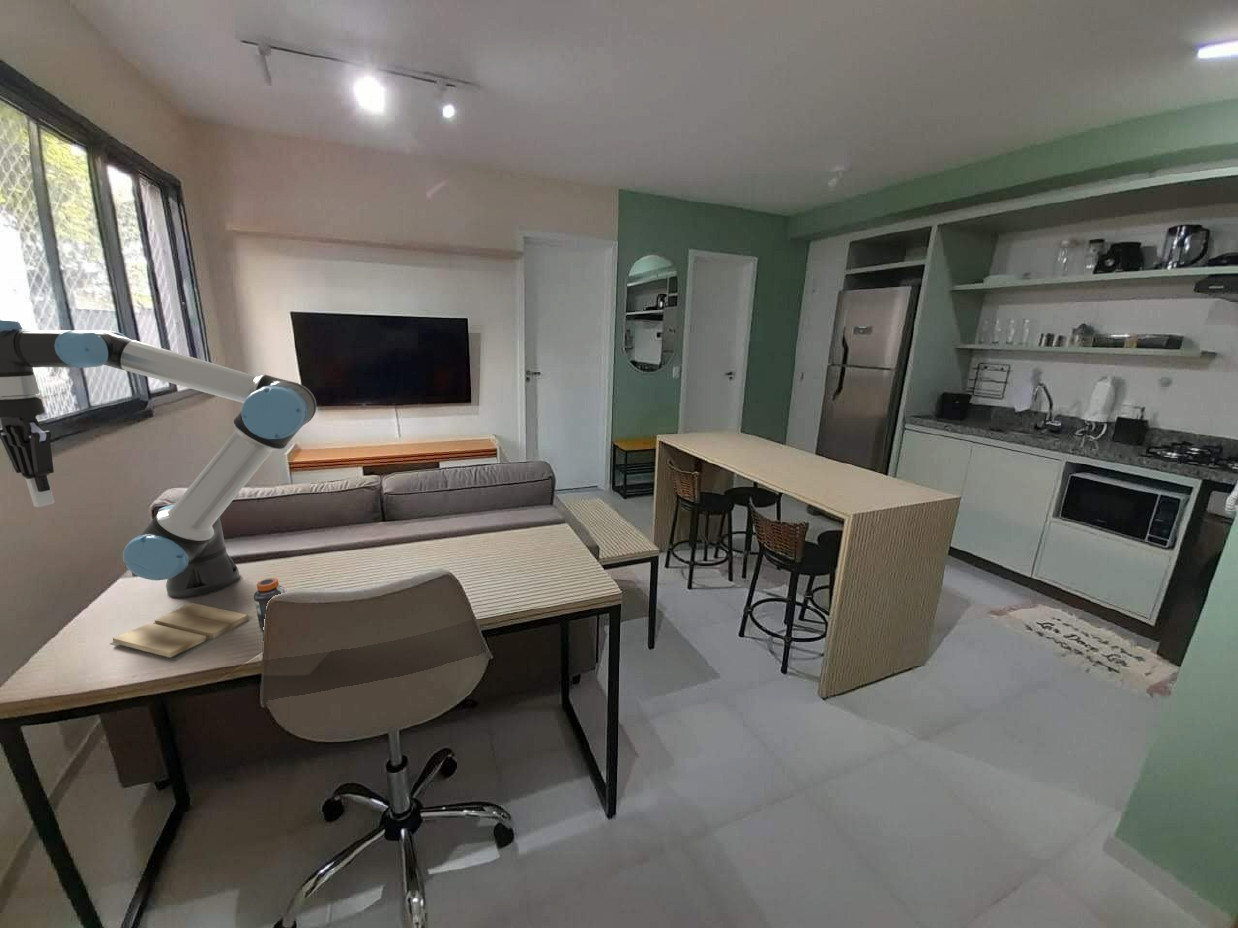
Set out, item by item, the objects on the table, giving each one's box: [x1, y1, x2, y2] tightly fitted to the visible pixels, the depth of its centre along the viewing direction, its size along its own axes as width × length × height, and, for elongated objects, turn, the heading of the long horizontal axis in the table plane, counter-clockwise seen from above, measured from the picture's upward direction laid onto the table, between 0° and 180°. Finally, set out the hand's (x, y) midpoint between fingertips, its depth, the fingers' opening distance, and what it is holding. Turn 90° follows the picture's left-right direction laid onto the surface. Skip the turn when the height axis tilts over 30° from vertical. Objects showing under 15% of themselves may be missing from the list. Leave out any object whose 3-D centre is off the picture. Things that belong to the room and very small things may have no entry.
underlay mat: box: [109, 615, 254, 661], centre depth 113 cm, size 17×20×1 cm
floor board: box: [154, 602, 249, 639], centre depth 115 cm, size 8×18×1 cm, turn 74°
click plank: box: [112, 622, 209, 658], centre depth 108 cm, size 8×17×1 cm, turn 74°
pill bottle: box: [253, 577, 286, 631], centre depth 114 cm, size 6×6×11 cm
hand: (44, 504), depth 107 cm, fingers closed
